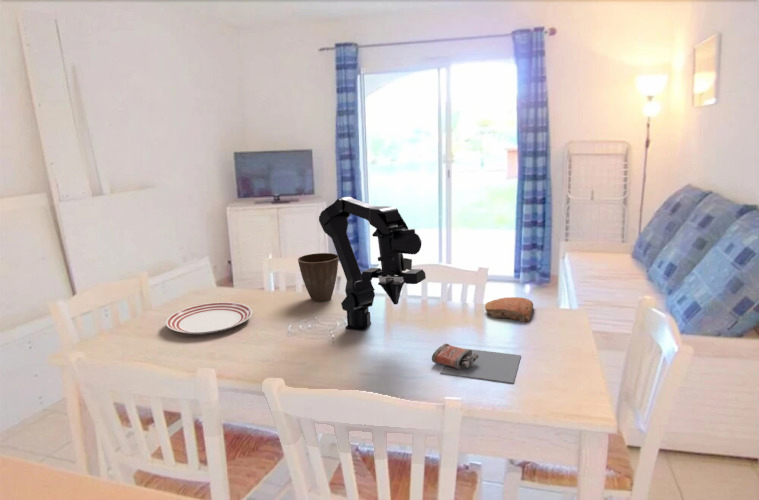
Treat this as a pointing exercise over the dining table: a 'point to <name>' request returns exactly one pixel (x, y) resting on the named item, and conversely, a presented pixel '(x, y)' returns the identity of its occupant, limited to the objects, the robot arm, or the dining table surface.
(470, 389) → the dining table surface
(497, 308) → the brown rounded lump
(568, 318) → the dining table surface
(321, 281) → the plant pot
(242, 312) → the dinner plate
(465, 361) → the lighter
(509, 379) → the mat
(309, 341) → the dining table surface
